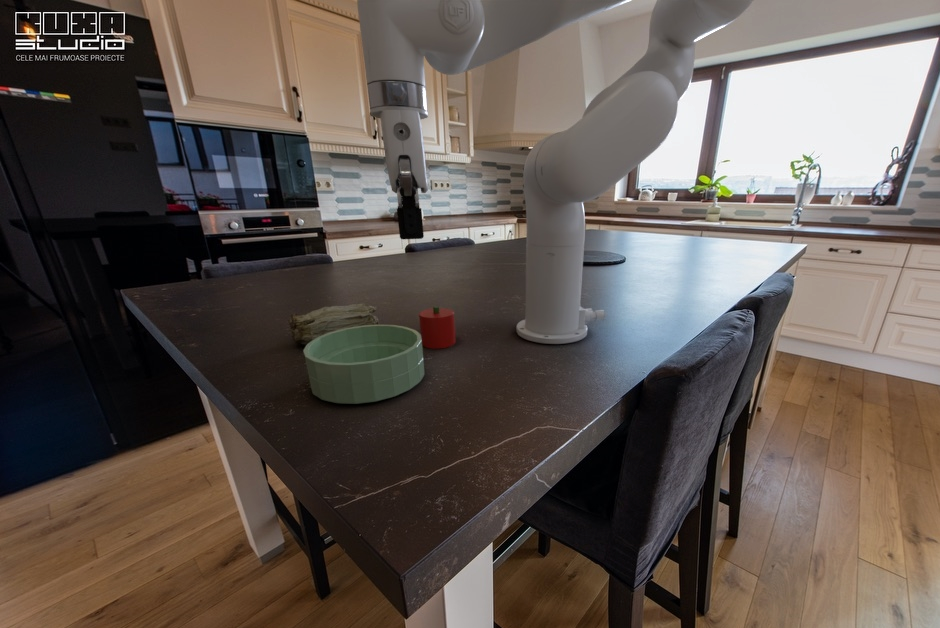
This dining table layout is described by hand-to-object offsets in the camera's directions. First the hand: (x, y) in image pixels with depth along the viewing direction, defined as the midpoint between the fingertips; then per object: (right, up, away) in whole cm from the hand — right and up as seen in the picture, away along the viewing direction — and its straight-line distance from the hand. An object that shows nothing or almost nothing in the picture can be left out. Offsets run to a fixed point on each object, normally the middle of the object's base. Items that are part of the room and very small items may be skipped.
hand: (411, 235), depth 59 cm
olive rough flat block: (-15, -15, +9) cm, 24 cm away
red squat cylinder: (+3, -16, +7) cm, 18 cm away
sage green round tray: (-4, -21, -6) cm, 22 cm away
